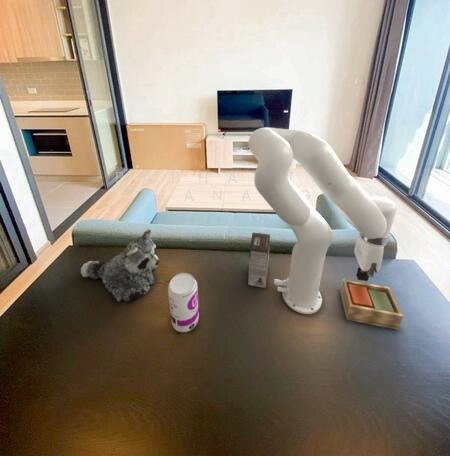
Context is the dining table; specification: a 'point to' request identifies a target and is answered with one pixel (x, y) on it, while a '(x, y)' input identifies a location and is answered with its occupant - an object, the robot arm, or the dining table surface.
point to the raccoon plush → (127, 269)
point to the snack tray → (370, 304)
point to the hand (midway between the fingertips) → (361, 278)
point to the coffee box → (258, 259)
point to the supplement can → (183, 302)
